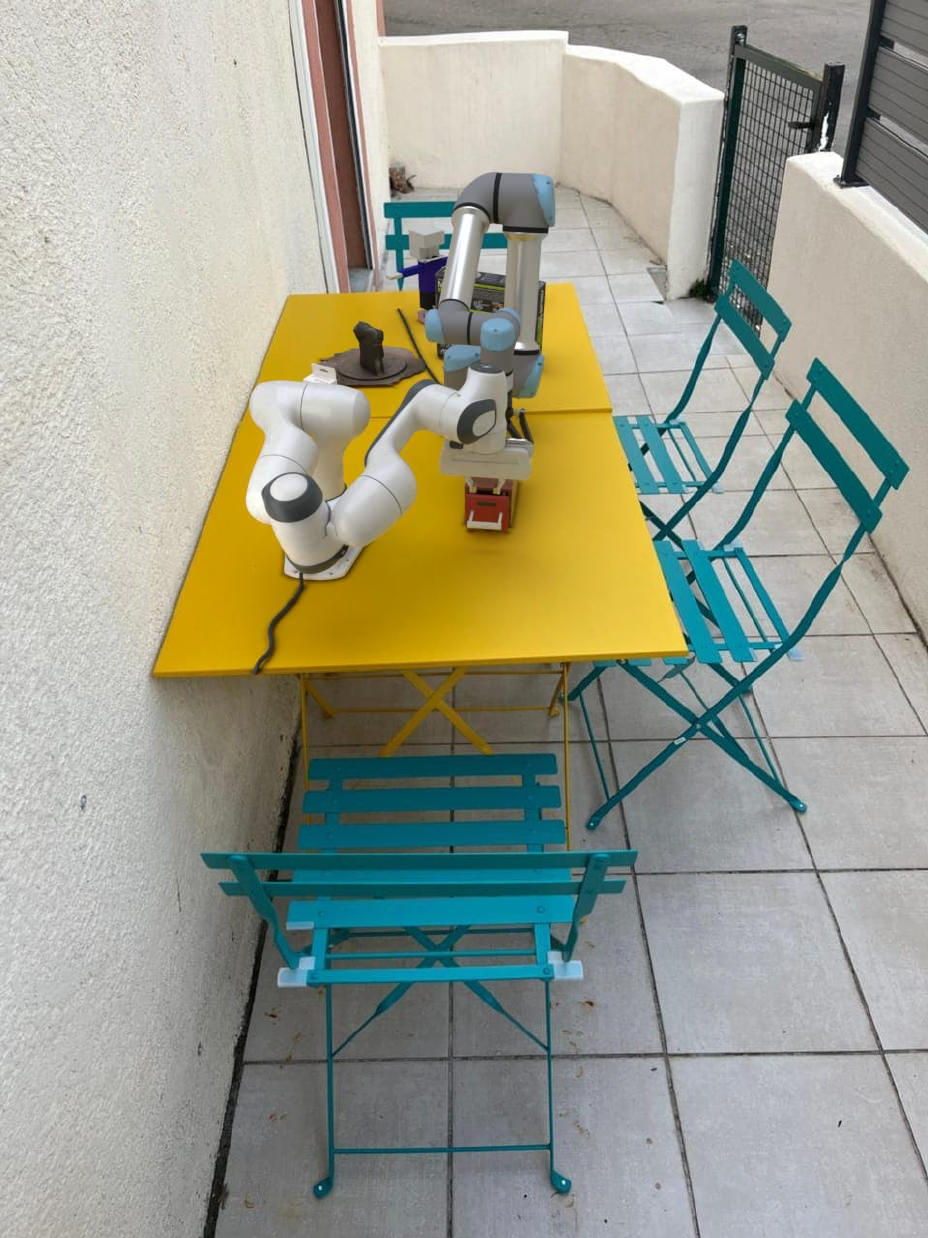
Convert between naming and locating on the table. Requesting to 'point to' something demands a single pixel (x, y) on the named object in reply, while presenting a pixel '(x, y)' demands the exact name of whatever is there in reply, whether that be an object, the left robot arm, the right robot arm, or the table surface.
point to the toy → (424, 264)
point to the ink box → (321, 375)
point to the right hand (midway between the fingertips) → (494, 471)
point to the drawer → (487, 510)
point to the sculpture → (372, 360)
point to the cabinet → (488, 485)
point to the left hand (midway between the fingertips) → (485, 492)
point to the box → (492, 301)
